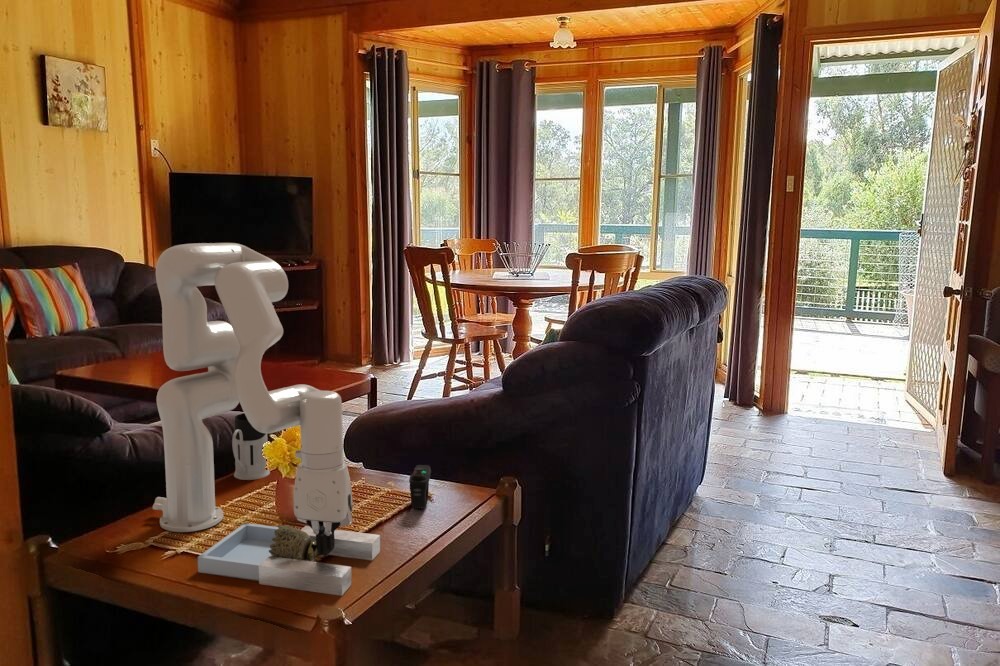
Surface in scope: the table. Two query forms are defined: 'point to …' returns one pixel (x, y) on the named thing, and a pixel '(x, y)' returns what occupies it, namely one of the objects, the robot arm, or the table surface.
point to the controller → (420, 486)
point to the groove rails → (320, 565)
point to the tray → (239, 552)
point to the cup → (293, 544)
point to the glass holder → (248, 450)
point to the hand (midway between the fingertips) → (325, 552)
